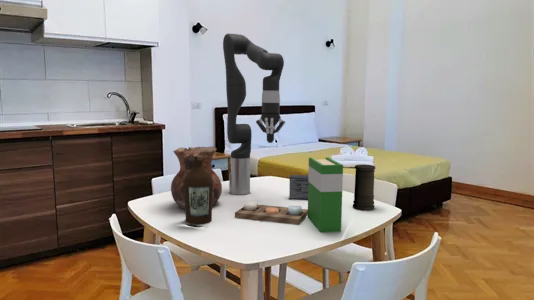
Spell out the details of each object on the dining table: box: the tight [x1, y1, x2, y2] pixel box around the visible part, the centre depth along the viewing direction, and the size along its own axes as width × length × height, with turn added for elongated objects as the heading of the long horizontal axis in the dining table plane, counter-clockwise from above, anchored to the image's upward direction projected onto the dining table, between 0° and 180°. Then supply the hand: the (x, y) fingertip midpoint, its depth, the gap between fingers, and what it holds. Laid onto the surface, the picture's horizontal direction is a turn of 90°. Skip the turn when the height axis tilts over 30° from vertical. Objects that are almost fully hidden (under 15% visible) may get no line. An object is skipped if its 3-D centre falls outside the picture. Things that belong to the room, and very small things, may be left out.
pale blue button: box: [288, 205, 303, 216], centre depth 158 cm, size 5×5×2 cm
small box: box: [288, 174, 308, 201], centre depth 192 cm, size 11×6×10 cm, turn 84°
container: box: [352, 164, 376, 211], centre depth 176 cm, size 9×9×18 cm
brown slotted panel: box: [234, 204, 308, 226], centre depth 161 cm, size 25×14×3 cm, turn 71°
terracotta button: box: [266, 207, 279, 214], centre depth 161 cm, size 5×5×2 cm
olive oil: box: [183, 156, 213, 228], centre depth 153 cm, size 11×11×25 cm
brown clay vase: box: [170, 146, 223, 210], centre depth 176 cm, size 22×21×25 cm
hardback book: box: [307, 156, 344, 233], centre depth 150 cm, size 18×7×24 cm, turn 8°
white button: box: [243, 200, 257, 211], centre depth 163 cm, size 5×5×2 cm
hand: (270, 142), depth 179 cm, fingers closed
